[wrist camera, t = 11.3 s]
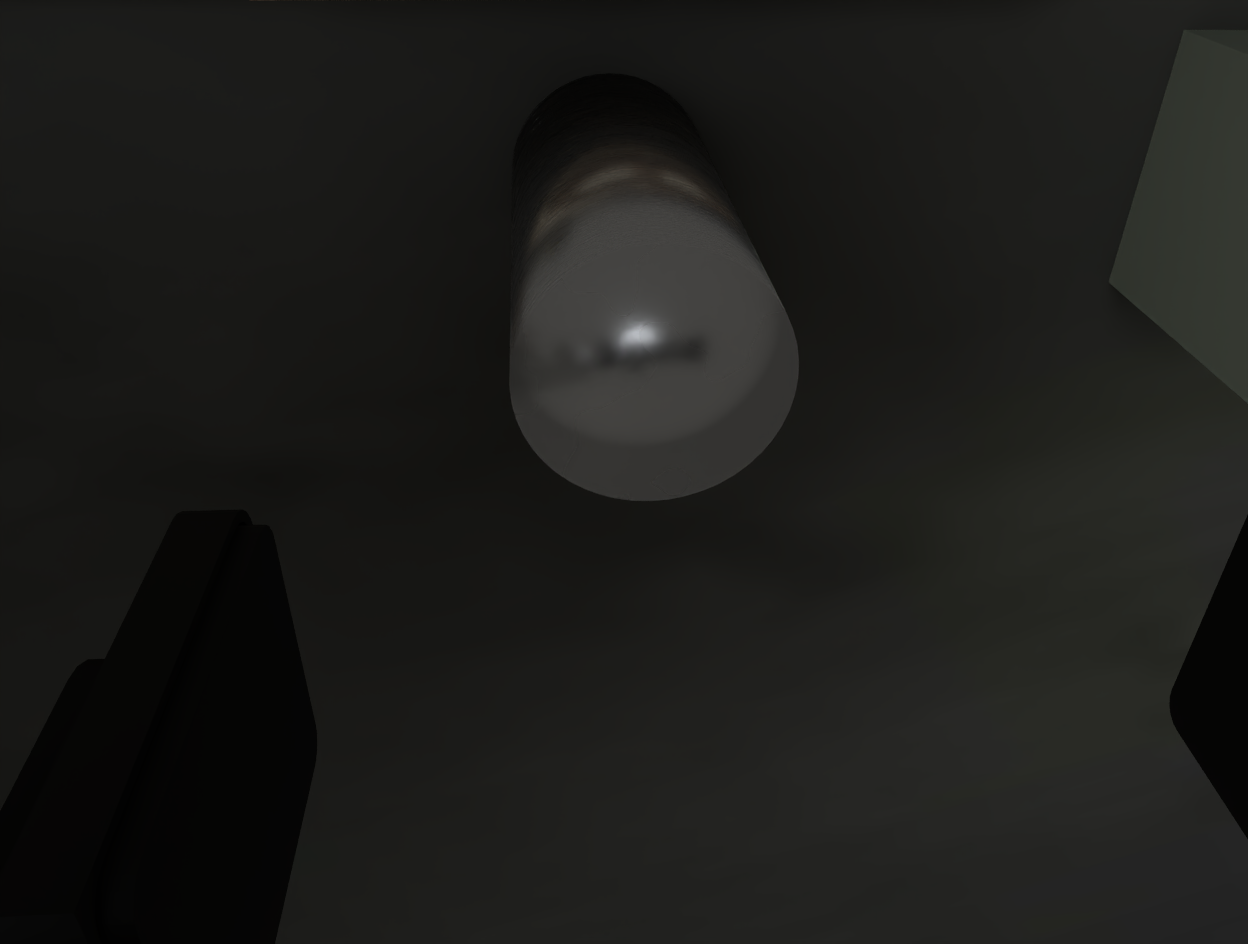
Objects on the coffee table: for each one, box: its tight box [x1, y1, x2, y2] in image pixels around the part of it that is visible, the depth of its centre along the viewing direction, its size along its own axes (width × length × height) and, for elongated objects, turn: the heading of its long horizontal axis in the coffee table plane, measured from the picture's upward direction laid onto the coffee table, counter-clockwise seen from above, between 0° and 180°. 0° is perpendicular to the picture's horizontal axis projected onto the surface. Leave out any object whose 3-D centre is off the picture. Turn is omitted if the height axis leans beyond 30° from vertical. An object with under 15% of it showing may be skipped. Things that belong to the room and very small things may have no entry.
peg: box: [509, 74, 799, 501], centre depth 18 cm, size 4×4×9 cm
